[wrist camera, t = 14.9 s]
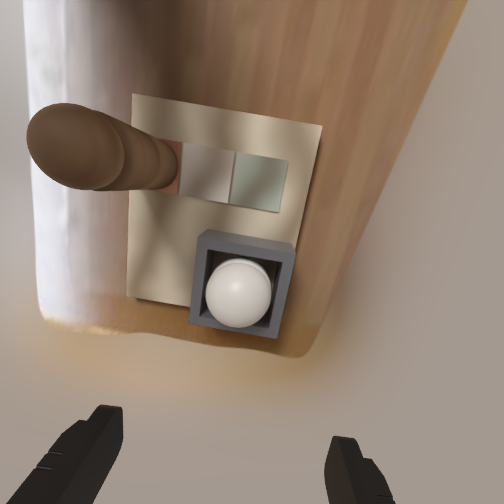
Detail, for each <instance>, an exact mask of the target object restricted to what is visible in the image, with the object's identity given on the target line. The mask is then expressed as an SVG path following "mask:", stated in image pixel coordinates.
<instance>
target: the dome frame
mask: <svg viewBox="0 0 504 504" xmlns="http://www.w3.org/2000/svg"><path fill="white" fill-rule="evenodd" d="M214 250H216V251H221V252H227V253H233V254H239V255H244V256H250V257H256V258H261V259H267V260H273V261H278V264H277V269H276V274H275V279H274V284H273V289H272V294H271V301H270V305H269V308H268V309H267V311H266V313H265V314H264V315H263V317H262V318H261V319H260V320H259V321H257V322H256V323H254V324H252V325H250V326H247V327H241V328H235V327H230V326H227V325H224V324H222V323H221V322H219V321H218V320H217V319H215V317H214V316H213V315H212V314H211V312H210V310H209V309H208V306H207V302H206V287H207V284H208V281H209V279H210V277H211V272H212V265H213V257H214ZM295 257H296V252H295V250H294V248H293V246H292V244H291V243H286V242H280V241H274V240H269V239H263V238H257V237H251V236H246V235H240V234H234V233H228V232H223V231H217V230H211V229H207V230H206V231H204V232H203V233H202V234H200V235H199V236H198V238H197V247H196V257H195V266H194V275H193V284H192V293H191V303H190V312H189V321H188V324H194V325H199V326H205V327H211V328H216V329H222V330H228V331H233V332H239V333H245V334H250V335H256V336H262V337H267V338H273V339H277V337H278V332H279V328H280V323H281V319H282V315H283V310H284V306H285V301H286V297H287V292H288V288H289V284H290V279H291V275H292V270H293V266H294V261H295Z"/></svg>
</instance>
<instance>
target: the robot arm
mask: <svg viewBox="0 0 504 504" xmlns="http://www.w3.org/2000/svg"><path fill="white" fill-rule="evenodd" d="M122 442H123V410H122V408H121V407H117V406H109V405H99V406H98V407H97V408H96V409H95V411H94V412H93V413H92V415H91V416H90V418H89V419H88V420H87V421H84V420H78V421H77V422H76V423H75V424H73V425H72V426H71V427H70V428H68V429H67V430H66V431H65V432H63V433H62V434H61V436H60V437H59V438H58V439H57V441H56V442H55V443H54V444H53V446H52V447H51V448H50V449H49V451H48V453H47V454H45V456H44V457H43V458H42V459H41V461H40V462H39V463H38V464H37V467H36V468H35V469H33V471H32V472H31V473H30V475H29V476H28V477H27V478H26V480H25V481H24V482H23V483H22V484H21V486H20V487H19V488H18V489H17V491H16V492H15V493H14V495H13V496H12V497H11V498H10V500H9V501H8V502H7V503H6V504H93V502H94V500H95V498H96V496H97V494H98V492H99V490H100V489H101V487H102V485H103V483H104V481H105V479H106V477H107V475H108V473H109V471H110V469H111V468H112V466H113V464H114V462H115V460H116V458H117V456H118V454H119V451H120V449H121V445H122ZM324 476H325V485H326V490H327V494H328V499H329V503H330V504H396V503H395V501H393V496H392V494H391V492H390V489H389V487H388V484H387V482H386V480H385V477H384V476H383V474H382V473H381V471H380V470H379V469H378V467H377V466H376V465H375V463H374V462H373V460H372V459H368V458H363V456H362V453H361V450H360V448H359V445H358V443H357V441H356V440H355V439H354V438H348V437H340V436H333V438H332V441H331V444H330V448H329V451H328V455H327V458H326V462H325V469H324Z"/></svg>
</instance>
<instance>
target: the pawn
mask: <svg viewBox="0 0 504 504" xmlns="http://www.w3.org/2000/svg"><path fill="white" fill-rule="evenodd" d="M27 145H28V149H29V152H30V154H31V156H32V158H33V160H34V161H35V163H36V164H37V166H38V167H39V168H40V169H41V170H42V171H43V172H44V173H45V174H46V175H47V176H49V177H50V178H51V179H53V180H54V181H56V182H58V183H60V184H62V185H64V186H67V187H70V188H74V189H80V190H94V191H122V190H151V189H163V188H165V187H167V186H169V185H170V184H171V183H172V182H173V181H174V180H175V178H176V176H177V173H178V160H177V156H176V154H175V152H174V150H173V149H172V148H171V147H170V146H169V145H168V144H167V143H166V142H164V141H162V140H160V139H158V138H156V137H154V136H152V135H150V134H147V133H145V132H143V131H141V130H139V129H137V128H134V127H132V126H130V125H128V124H126V123H124V122H122V121H119V120H117V119H115V118H113V117H111V116H109V115H106V114H104V113H102V112H99V111H95V110H91V109H89V108H86V107H84V106H81V105H77V104H70V103H58V104H53V105H50V106H47V107H45V108H43V109H41V110H40V111H39V112H37V113H36V114H35V115H34V116H33V118H32V119H31V121H30V123H29V125H28V129H27Z"/></svg>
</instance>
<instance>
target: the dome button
mask: <svg viewBox="0 0 504 504" xmlns="http://www.w3.org/2000/svg"><path fill="white" fill-rule="evenodd" d="M270 301H271V282H270V277H269V275H268V272H267V271H266V269H265V268H264V267H263V266H262V265H261V264H260V263H259V262H257V261H256V260H254V259H251V258H248V257H243V256H237V257H231V258H228V259H226V260H224V261H223V262H221V263H220V264H219V265H218V266H217V267H216V269H215V270H214V272H213V274H212V275H211V277H210V279H209V281H208V284H207V287H206V302H207V306H208V309H209V310H210V312H211V314H212V315H213V316H214V317H215V319H217V320H218V321H219V322H221V323H222V324H224V325H227V326H230V327H235V328H241V327H247V326H250V325H252V324H254V323H256V322H257V321H259V320H260V319H261V318H262V317H263V315H264V314H265V313H266V311H267V309H268V307H269V305H270Z"/></svg>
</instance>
